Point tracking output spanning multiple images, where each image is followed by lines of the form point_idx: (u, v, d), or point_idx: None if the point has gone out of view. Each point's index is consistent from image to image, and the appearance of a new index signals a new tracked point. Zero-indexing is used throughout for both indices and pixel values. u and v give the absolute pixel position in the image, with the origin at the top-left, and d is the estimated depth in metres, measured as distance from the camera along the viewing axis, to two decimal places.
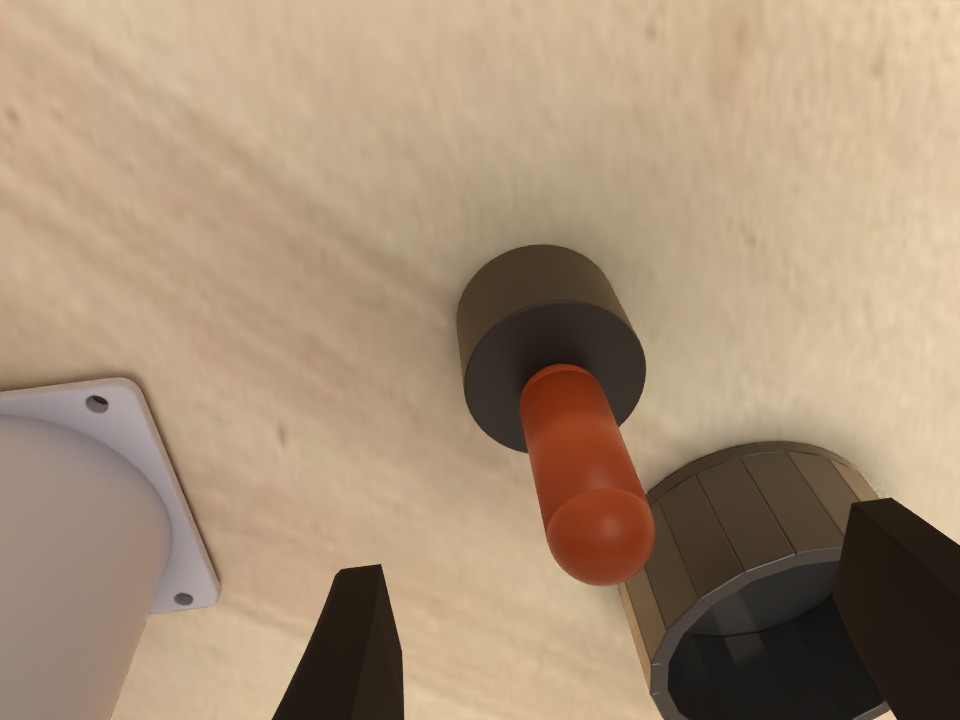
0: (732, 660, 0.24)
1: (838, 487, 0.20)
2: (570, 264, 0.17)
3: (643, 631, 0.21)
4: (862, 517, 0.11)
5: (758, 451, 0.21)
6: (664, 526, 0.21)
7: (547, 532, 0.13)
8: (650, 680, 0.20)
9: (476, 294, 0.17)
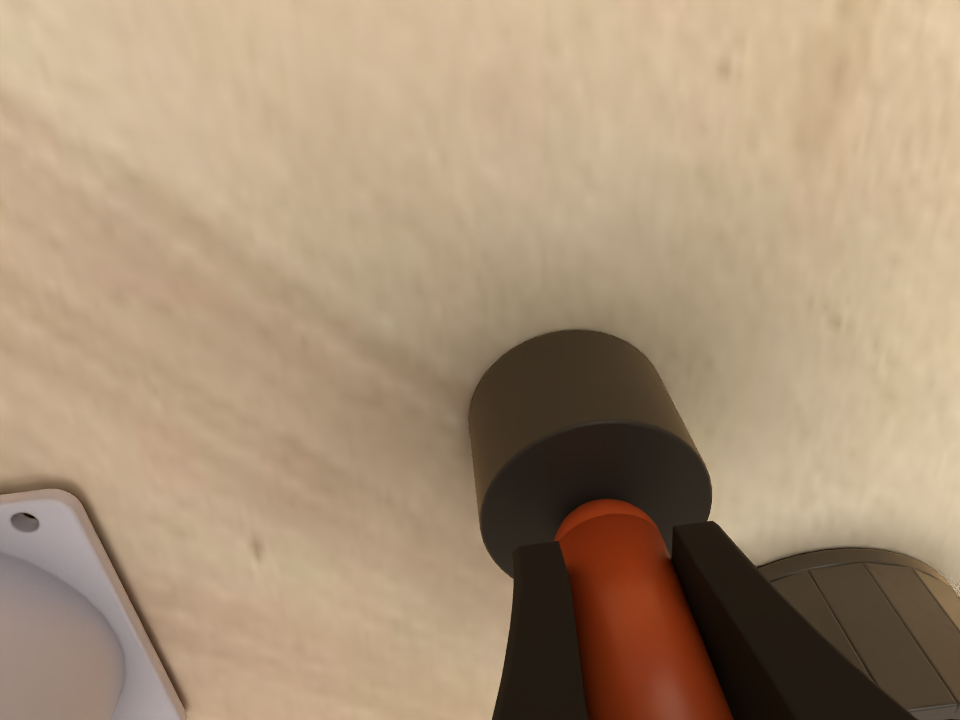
0: None
1: (932, 613, 0.17)
2: (613, 358, 0.14)
3: None
4: (680, 541, 0.11)
5: (830, 562, 0.18)
6: None
7: None
8: None
9: (493, 394, 0.14)
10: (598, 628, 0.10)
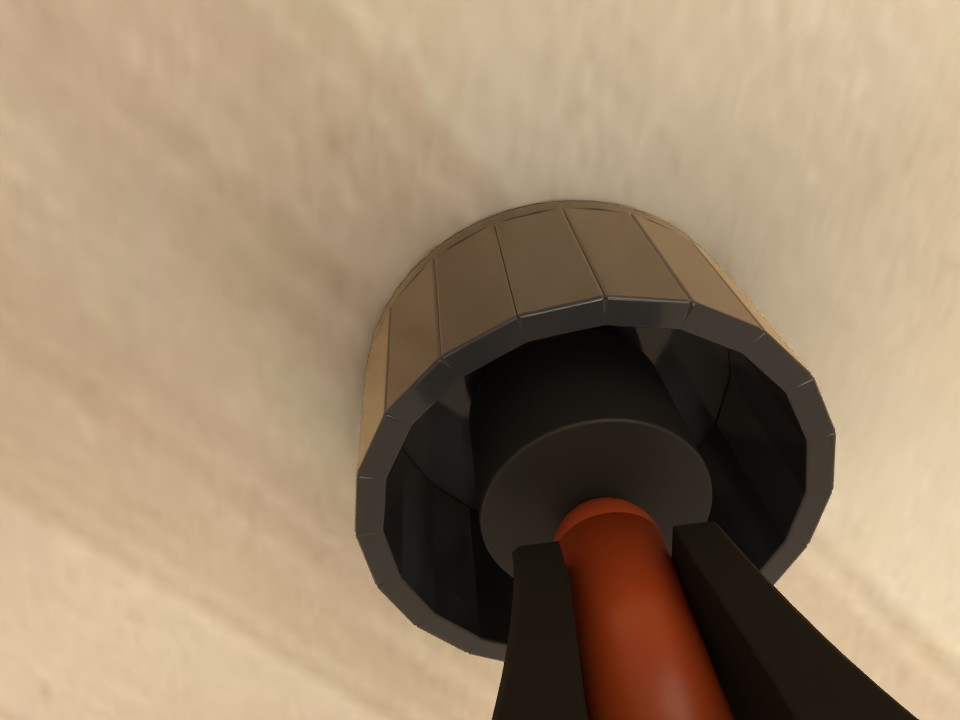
0: None
1: (695, 260, 0.13)
2: (613, 357, 0.14)
3: (362, 433, 0.13)
4: (680, 541, 0.11)
5: (592, 207, 0.14)
6: (429, 285, 0.14)
7: None
8: (355, 508, 0.13)
9: (494, 393, 0.14)
10: (598, 626, 0.10)
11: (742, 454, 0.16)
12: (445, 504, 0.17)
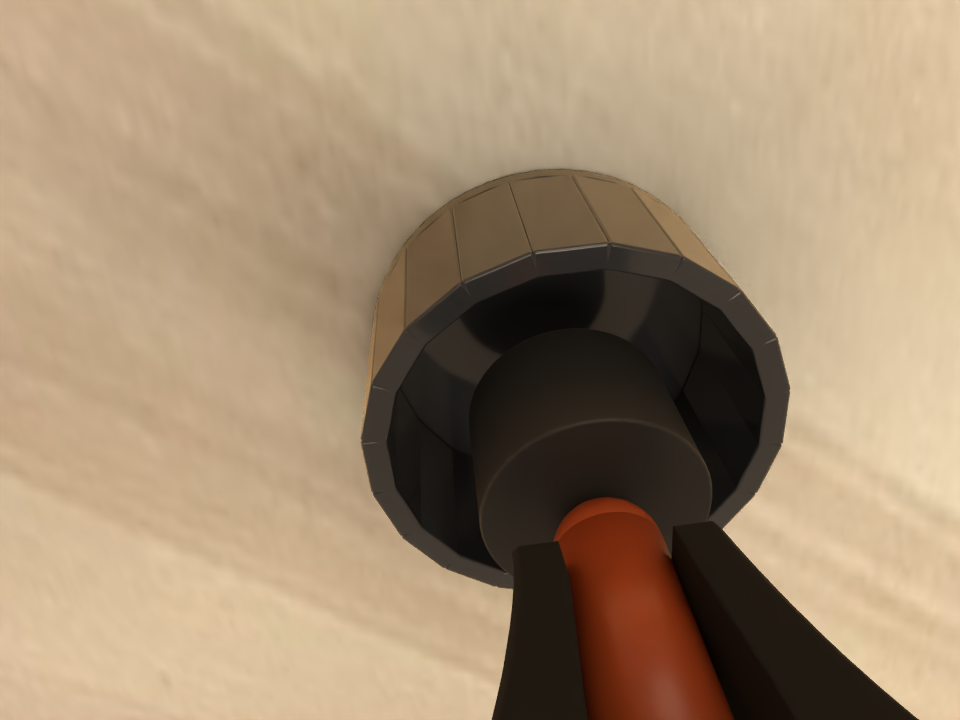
0: None
1: (629, 205, 0.15)
2: (613, 357, 0.14)
3: None
4: (680, 541, 0.11)
5: (536, 176, 0.16)
6: (402, 271, 0.15)
7: None
8: (367, 471, 0.15)
9: (493, 393, 0.14)
10: (598, 626, 0.10)
11: (720, 374, 0.17)
12: (466, 464, 0.19)
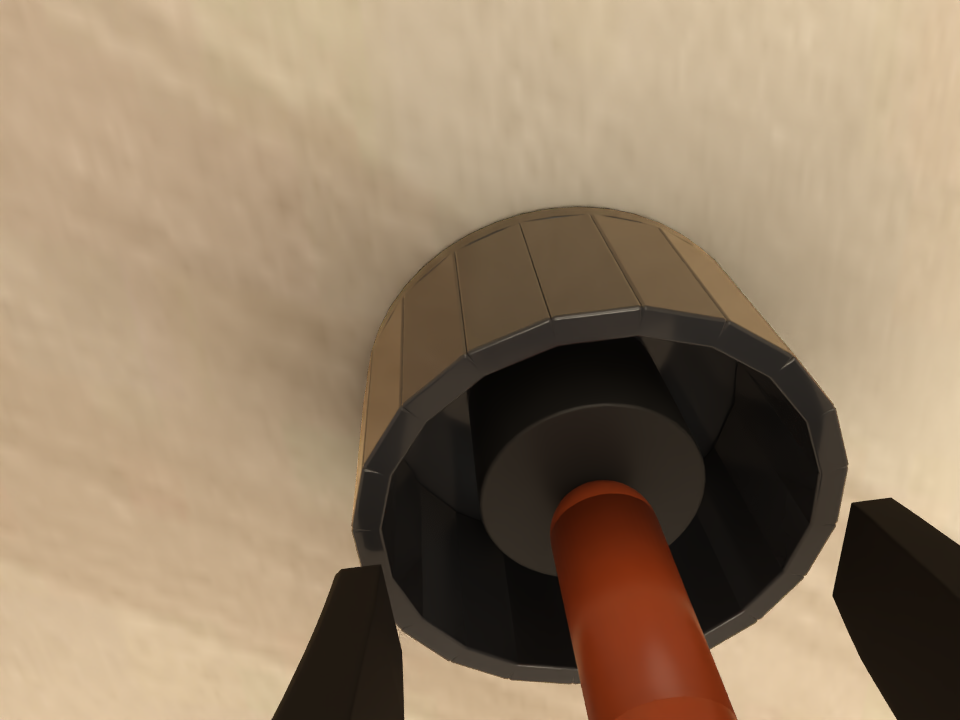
0: None
1: (659, 252, 0.13)
2: (609, 345, 0.14)
3: (355, 486, 0.13)
4: (862, 517, 0.11)
5: (550, 215, 0.14)
6: (398, 327, 0.13)
7: None
8: (359, 560, 0.13)
9: (493, 381, 0.14)
10: (594, 601, 0.11)
11: (760, 435, 0.15)
12: (473, 530, 0.17)
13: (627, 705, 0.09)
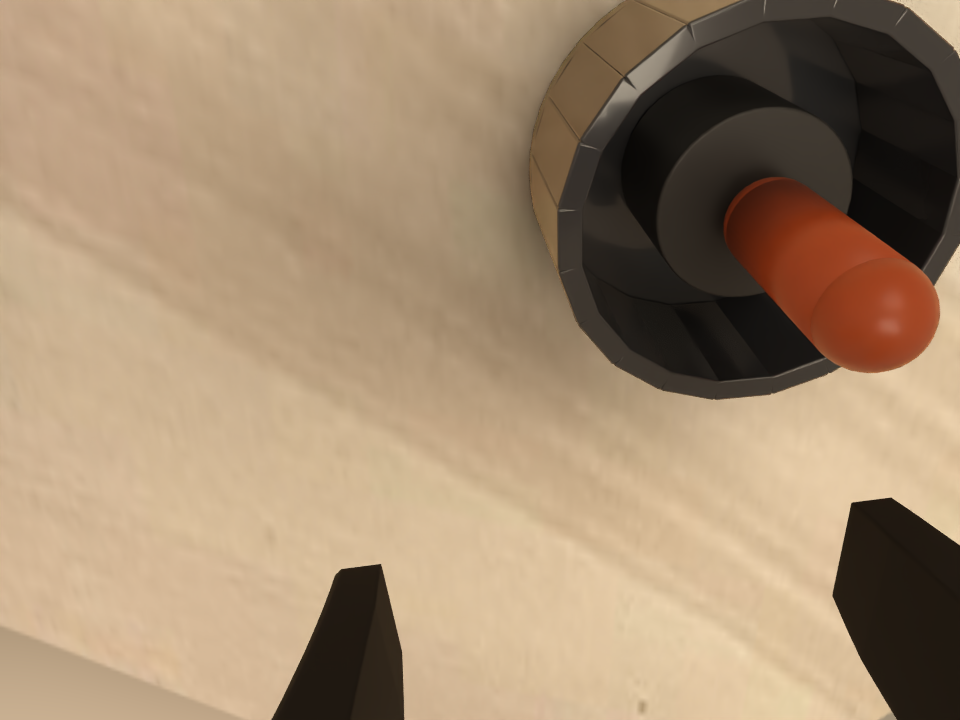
0: (680, 320, 0.19)
1: None
2: (764, 89, 0.16)
3: (552, 185, 0.15)
4: (862, 517, 0.11)
5: None
6: (587, 56, 0.15)
7: (814, 312, 0.11)
8: (558, 244, 0.15)
9: (659, 120, 0.16)
10: (792, 231, 0.12)
11: (885, 186, 0.17)
12: (611, 290, 0.19)
13: (845, 268, 0.11)
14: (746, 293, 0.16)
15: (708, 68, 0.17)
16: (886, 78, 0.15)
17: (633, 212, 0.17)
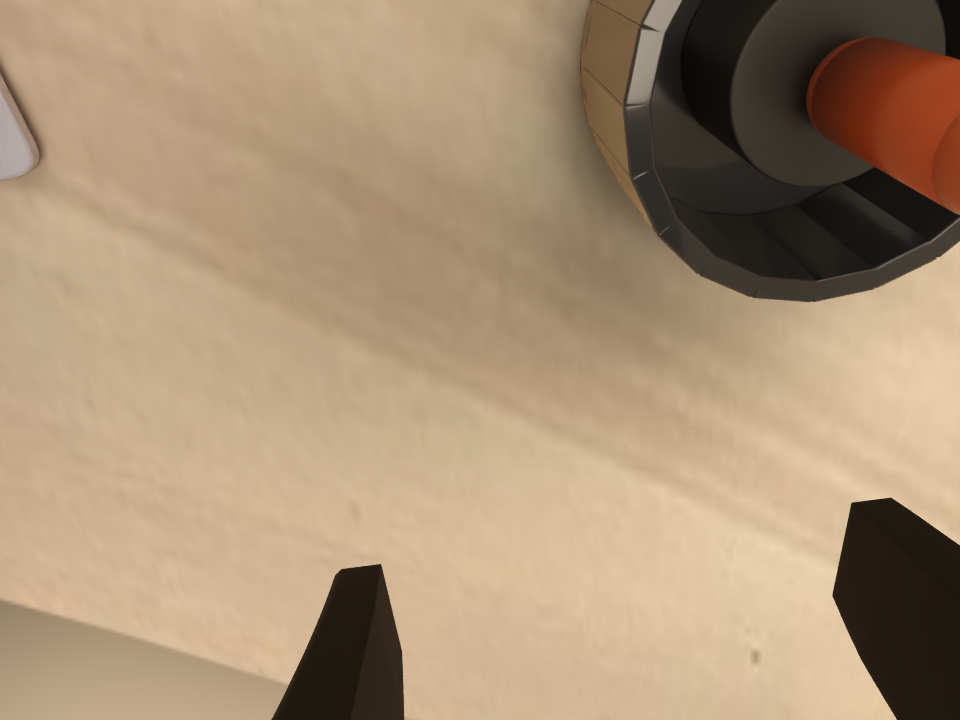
0: (760, 228, 0.18)
1: None
2: None
3: (612, 85, 0.14)
4: (862, 517, 0.11)
5: None
6: None
7: (935, 158, 0.10)
8: (627, 146, 0.14)
9: (718, 7, 0.15)
10: (893, 82, 0.11)
11: None
12: (682, 206, 0.18)
13: None
14: (836, 180, 0.15)
15: None
16: None
17: (699, 115, 0.16)
